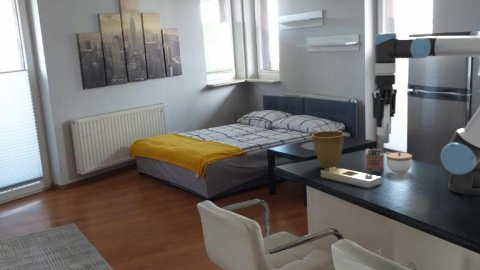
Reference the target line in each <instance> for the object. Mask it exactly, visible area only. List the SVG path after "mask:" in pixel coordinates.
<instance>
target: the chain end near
mask: <svg viewBox="0 0 480 270" xmlns="http://www.w3.org/2000/svg"><path fill="white" fill-rule="evenodd" d="M349 176H350V177H349V180H346V179H342V178H339V181H338V182H341V183H345V184H349V185H354V186H357V187H362V188H367V189H372V188H373V187H374V188H375V187H376V186H379V185H382V176H379V175H375V174H369V173H365V172H361V173H359V174H356V175H350V174H349Z"/></svg>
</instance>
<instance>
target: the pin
mask: <svg viewBox="0 0 480 270" xmlns="http://www.w3.org/2000/svg"><path fill="white" fill-rule="evenodd" d="M383 119H384V136H381V135H378V143H379V144H389V143H390V134H389V124H390V104H385V106H384V114H383Z"/></svg>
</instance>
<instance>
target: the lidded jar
mask: <svg viewBox="0 0 480 270" xmlns="http://www.w3.org/2000/svg"><path fill="white" fill-rule="evenodd" d="M386 163H387V168H388V169H389V170H390V172H393V173H392V174H394V173H396V174H395V175H406V174H407V172H408V171H410V169H411V168H412V164H413V154H411V153H407V152H401V151H397V152H391V153H388V154H386ZM405 173H406V174H405Z"/></svg>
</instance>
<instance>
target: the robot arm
mask: <svg viewBox="0 0 480 270" xmlns="http://www.w3.org/2000/svg"><path fill="white" fill-rule="evenodd" d="M374 41H375V44H374V47H375V48H374V58H375V59H374V63H375V64H374V65H375V66H374V73H375V75H374V84H375V85H376V86H377V87H376V91H374V92H371V96H372V117H373V119H376V135H377V136H379V135H381V136H384V119H383V114H384V106H385V104H390V124H389V135H390V134H392V118H394V117H395V114H396V107H397V106H396V104H397V103H396V102H397V101H396V100H397V93H398V90H397V88H396V89H395V88H394V87H393V85H395V84H396V69H397V68H396V67H397V66H396V65H397V64H396V63H397V62H396V59H416V60H419V59H425V58H428V57H454V58H455V57H459V58H460V57H461V58H462V57H463V58H465V57H467V58H473V57H474V58H480V35H437V36H436V35H435V36H433V35H432V36H430V35H422V36H412V37H398V36H397V33H396V32H379V33H377V34H376V35H375V40H374ZM440 161H441V163H442V166H443V167H444V169H446V170H447V171H448V172H450V173H451V174H450V176H449V177H450V178H449V180H448V183H447V184H448V185H447V187H448V190H449V191H451V192H454V193H457V194H461V195H467V196H480V105H479V107H478V108H477V109H476V111H475V113H473V115H472V117H471V118H470V119H469V121H468V122H467V124H466V125H465V127H462V128H459V129H457V130H455V131H454V135H453V137H452V138H451V139H450V141H448V143H447V144H445V145H444V146H443V148H442V150H441V152H440Z"/></svg>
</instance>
